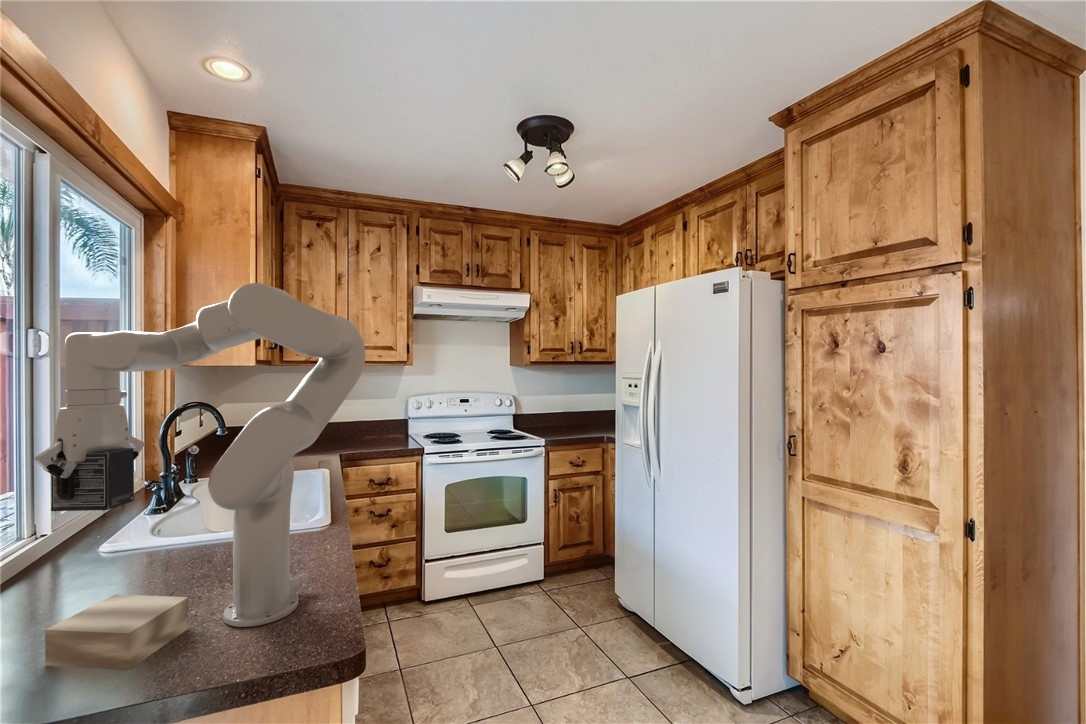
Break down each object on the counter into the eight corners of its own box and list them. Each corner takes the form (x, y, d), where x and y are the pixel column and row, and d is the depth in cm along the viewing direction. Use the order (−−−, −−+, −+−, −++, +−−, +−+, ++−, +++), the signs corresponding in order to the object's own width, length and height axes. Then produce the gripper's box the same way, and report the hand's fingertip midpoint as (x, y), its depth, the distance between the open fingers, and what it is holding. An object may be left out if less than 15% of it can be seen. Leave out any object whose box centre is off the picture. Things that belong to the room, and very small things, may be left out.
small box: (137, 500, 97) (136, 446, 97) (108, 511, 90) (107, 452, 90) (81, 501, 97) (80, 447, 97) (48, 511, 90) (48, 453, 90)
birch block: (115, 627, 91) (115, 594, 91) (188, 630, 90) (188, 597, 90) (45, 667, 79) (45, 629, 79) (128, 671, 78) (128, 633, 78)
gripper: (132, 395, 103) (133, 480, 103) (20, 402, 87) (21, 503, 87) (157, 396, 100) (157, 483, 100) (46, 403, 84) (47, 508, 84)
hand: (94, 492), depth 93 cm, fingers closed on small box, 8 cm apart
